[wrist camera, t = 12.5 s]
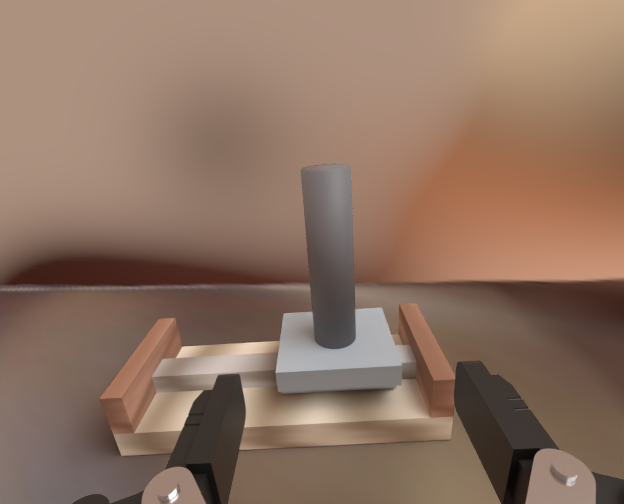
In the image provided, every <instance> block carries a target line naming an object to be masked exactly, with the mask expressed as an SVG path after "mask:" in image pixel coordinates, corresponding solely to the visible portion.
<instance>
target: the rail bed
mask: <svg viewBox="0 0 624 504" xmlns="http://www.w3.org/2000/svg"><path fill="white" fill-rule="evenodd" d="M391 335H392V338H393V341H394V344H395V347H396V349H397V352H398V355H399V358H400V361H401V363H402V386H396V388H383V389H365V390H346V391H328V392H310V393H291V394H282V392H278V387H277V380H276V373H275V372H276V365H277V358H278V351H279V344H280V341H272V342H255V343H238V344H221V345H204V346H187V347H182V344H181V340H180V336H179V332H178V328H177V324H176V320H175V318H167V319H159V320H158V321H157V322H156V324H155V325H154V326H153V328H152V329H151V330H150V332H149V333H148V334H147V336H146V337H145V338H144V340H143V341H142V342H141V344H140V345H139V346H138V348H137V349H136V350H135V352H134V353H133V354H132V356H131V357H130V358H129V360H128V361H127V363H126V364H125V365H124V367H123V368H122V369H121V371H120V372H119V373H118V375H117V376H116V377H115V379H114V380H113V381H112V383H111V384H110V385H109V387H108V388H107V389H106V391H105V392H104V393H103V395H102V396H101V397H100V402H101V404H102V407H103V409H104V412H105V415H106V417H107V420H108V422H109V425H110V427H111V430H112V433H113V435H114V438H115V440H116V443H117V446H118V448H119V451H120V453H121V456H130V455H150V454H170V453H172V452H173V450H174V447H175V445H176V443H177V440H178V438H179V435H180V433H181V431H182V428H183V427H184V423H185V421H186V418H187V417H188V414H189V411H190V409H191V406H192V404H193V402H194V400H195V399H196V398H197V397H198V396H199V395H200V394H201V393H202V392H203V390H212V389H213V387H214V384H215V381H216V378H217V376H218V375H222V374H239V375H240V378H241V383H242V388H243V394H244V399H245V405H246V420H245V425H244V430H243V435H242V439H241V444H240V448H239V450H250V449H270V448H290V447H310V446H330V445H350V444H371V443H391V442H411V441H431V440H451V433H452V424H453V415H454V405H455V403H454V386H455V374H454V372H453V371H452V369H451V367H450V365H449V363H448V361H447V359H446V358H445V356H444V354H443V352H442V350H441V348H440V347H439V345H438V343H437V341H436V339H435V337H434V335H433V334H432V332H431V330H430V328H429V326H428V324H427V323H426V321H425V319H424V317H423V315H422V313H421V312H420V310H419V308H418V306H417V304H416V303H412V304H399V334H391Z"/></svg>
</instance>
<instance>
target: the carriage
mask: <svg viewBox="0 0 624 504" xmlns="http://www.w3.org/2000/svg"><path fill="white" fill-rule="evenodd" d="M301 177H302V178H301V179H302V191H303V203H304V216H305V227H306V240H307V252H308V264H309V276H310V288H311V301H312V312H300V313H284V317H283V324H282V331H281V338H280V344H279V351H278V358H277V365H276V372H275V373H276V380H277V387H278V392H282V394H291V393H310V392H328V391H346V390H365V389H383V388H396V386H402V363H401V361H400V358H399V355H398V352H397V349H396V347H395V344H394V341H393V338H392V335H391V332H390V330H389V327H388V324H387V321H386V318H385V315H384V313H383V310H382V308H366V309H355V283H354V250H353V215H352V181H351V166H350V165H346V164H322V165H314V166H308V167H305V168H302V169H301Z"/></svg>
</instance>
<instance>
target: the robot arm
mask: <svg viewBox="0 0 624 504" xmlns="http://www.w3.org/2000/svg"><path fill="white" fill-rule="evenodd" d="M454 403H455V407H456V411H457V413H458V415H459V417H460V419H461V421H462V423H463V425H464V428H465V430H466V432H467V434H468V436H469V438H470V440H471V442H472V444H473V446H474V448H475V450H476V452H477V454H478V456H479V459H480V461H481V463H482V465H483V467H484V469H485V471H486V473H487V475H488V477H489V479H490V481H491V483H492V485H493V487H494V490H495V492H496V494H497V496H498V498H499V500H500V502H501V504H624V480H623V479H618V478H614V477H610V476H605V475H601V474H597V473H594V472H591V471H590V470H589V469H588V468H587V467H586V465H585V464H583V463H582V462H581V461H580V460H579V459H577V458H576V457H574V456H572V455H571V454H569V453H566V452H564V451H561V450H559V448H558V447H557V446H556V444H555V443H554V442H553V440H552V439H551V438H550V436H549V435H548V433H547V432H546V431H545V429H544V428H543V427H542V425H541V424H540V423H539V421H538V420H537V418H536V417H535V416H534V414H533V413H532V412H531V410H529V409H528V406H527V405H526V404H525V402H524V401H523V400H521V397H520V395H519V394H518V393H517V391H516V390H515V389H514V387H513V386H512V385H511V384H510V383H509V382H507V381H506V380H505V379H503V378H502V377H501V376H499V375H490V373H489V372H488V370H487V369H486V367H485V366H484V364H483V363H482V362H481V361H465V362H458V363H457V367H456V376H455V386H454ZM245 420H246V405H245V399H244V394H243V388H242V383H241V378H240V375H239V374H222V375H218V376H217V378H216V381H215V384H214V387H213V389H212V390H203V392H202V393H201V394H200V395H199V396H198V397H197V398H196V399H195V400H194V402H193V404H192V406H191V409H190V411H189V414H188V417H187V418H186V421H185V423H184V427H183V428H182V431H181V433H180V435H179V438H178V440H177V443H176V445H175V447H174V450H173V452H172V455H171V457H170V460H169V462H168V464H167V467H166V469H165V470H164V471H162V472H161V473H159V474H158V475H156V476H155V477H154V478H153V479H152V480H151V481H150V482H149V484H148V485H147V487H146V488H145V490H144V491H142V492H140V493H138V494H136V495H133V496H130V497H127V498H125V499H122V500H119V501H116V502H114V503H111V504H228V499H229V494H230V490H231V485H232V481H233V476H234V471H235V467H236V462H237V458H238V453H239V448H240V444H241V439H242V435H243V430H244V425H245ZM73 504H110V502H109V500H108V499H107V498H106V497H105V496H103V495H100V494H93V495H88V496H85V497H83V498H81V499H79V500H77V501H76V502H74V503H73Z"/></svg>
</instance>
